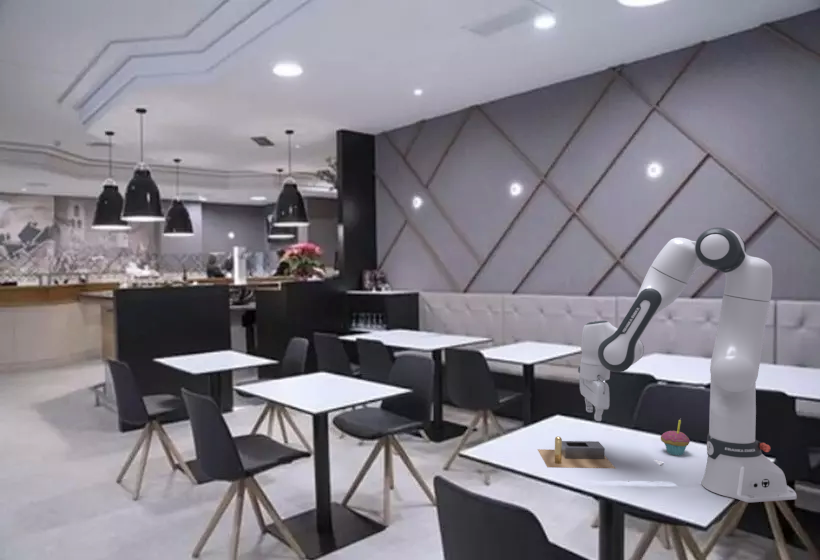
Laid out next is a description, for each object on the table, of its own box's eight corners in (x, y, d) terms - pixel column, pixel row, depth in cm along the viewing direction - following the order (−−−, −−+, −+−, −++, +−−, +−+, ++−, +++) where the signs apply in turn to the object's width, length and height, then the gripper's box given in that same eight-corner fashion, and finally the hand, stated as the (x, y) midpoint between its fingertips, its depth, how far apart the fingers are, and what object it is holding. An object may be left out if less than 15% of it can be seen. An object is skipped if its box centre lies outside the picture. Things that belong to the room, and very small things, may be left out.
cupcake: (695, 455, 184) (696, 418, 184) (675, 458, 181) (676, 421, 180) (674, 447, 192) (674, 412, 192) (654, 450, 189) (655, 414, 188)
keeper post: (560, 461, 174) (561, 435, 174) (562, 463, 172) (562, 437, 172) (554, 461, 174) (554, 435, 174) (555, 463, 172) (555, 437, 172)
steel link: (598, 452, 183) (598, 441, 183) (604, 459, 176) (604, 448, 176) (560, 451, 183) (560, 440, 183) (565, 458, 177) (565, 447, 176)
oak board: (599, 454, 184) (599, 450, 184) (615, 473, 168) (615, 468, 168) (537, 453, 185) (537, 449, 185) (547, 472, 169) (547, 467, 169)
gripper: (615, 379, 168) (614, 426, 169) (595, 366, 189) (594, 407, 189) (594, 379, 168) (592, 425, 169) (576, 365, 189) (575, 407, 189)
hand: (593, 416), depth 179 cm, fingers open, 8 cm apart
